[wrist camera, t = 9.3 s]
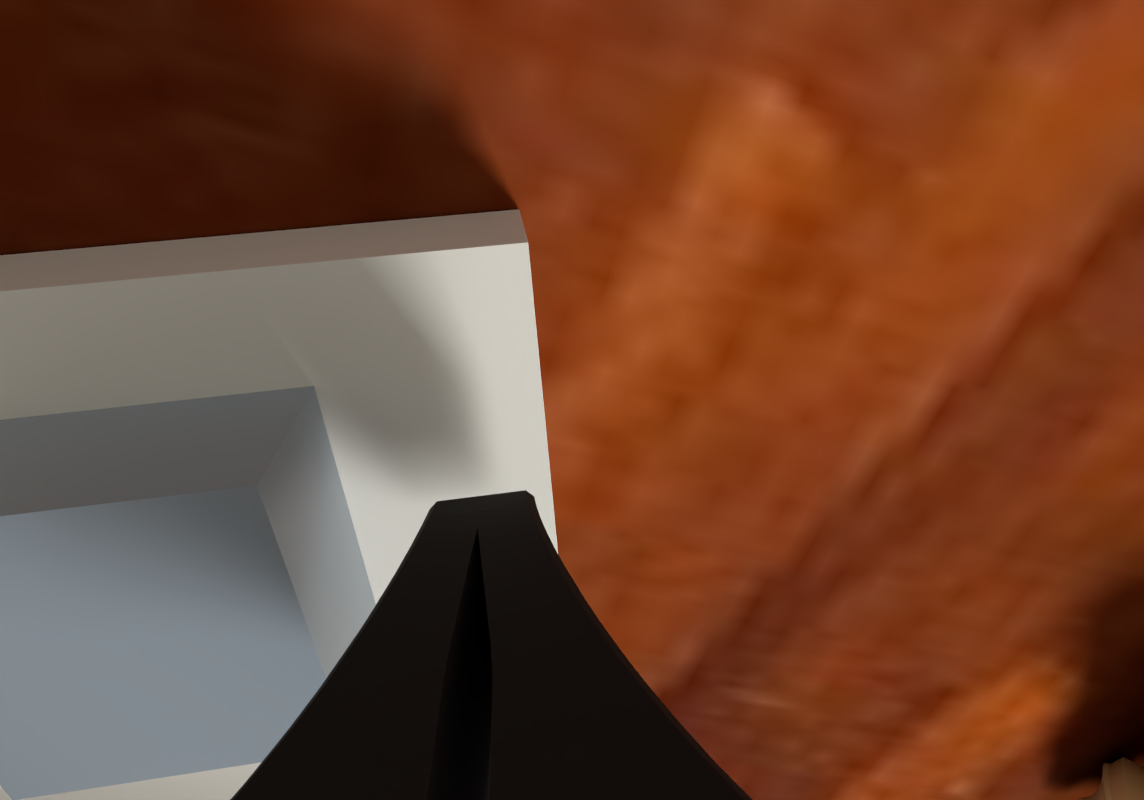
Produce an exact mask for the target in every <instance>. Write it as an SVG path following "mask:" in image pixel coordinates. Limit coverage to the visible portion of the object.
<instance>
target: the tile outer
mask: <svg viewBox="0 0 1144 800" xmlns="http://www.w3.org/2000/svg"><path fill="white" fill-rule="evenodd" d="M375 605H376V603H375V600H374V596H373V592H372V589H371V585H370V582H369V578H368V575H367V571H366V568H365V564H364V561H363V557H362V554H361V550H360V547H359V543H358V540H357V536H356V533H355V529H354V526H353V522H352V518H351V515H350V511H349V508H348V504H347V501H346V497H345V494H344V490H343V487H342V483H341V480H340V476H339V473H338V469H337V466H336V462H335V459H334V455H333V452H332V448H331V444H330V441H329V437H328V434H327V430H326V427H325V423H324V420H323V416H322V413H321V409H320V406H319V402H318V399H317V395H316V392H315V388H314V386H308V387H299V388H290V389H280V390H271V391H262V392H253V393H244V394H234V395H225V396H216V397H207V398H197V399H188V400H179V401H170V402H160V403H151V404H142V405H133V406H123V407H114V408H105V409H96V410H87V411H77V412H68V413H59V414H50V415H40V416H31V417H22V418H13V419H3V420H0V786H1V787H2V788H3V789H4V791H5V792H6V793H7V794H8V795H9V797H10V798H11V799H12V800H20V799H26V798H33V797H39V796H46V795H52V794H59V793H65V792H72V791H78V790H85V789H91V788H98V787H104V786H111V785H117V784H124V783H130V782H137V781H143V780H150V779H156V778H163V777H169V776H176V775H182V774H189V773H195V772H202V771H208V770H215V769H221V768H228V767H234V766H241V765H247V764H254V763H260V762H262V761H263V760H264V759H265V758H266V756H267V755H268V754H269V753H270V752H271V750H272V749H273V748H274V747H275V745H276V744H277V743H278V742H279V740H280V739H281V738H282V737H283V735H284V734H285V733H286V732H287V730H288V729H289V728H290V726H291V725H292V724H293V723H294V721H295V720H296V719H297V717H298V716H299V715H300V713H301V712H302V711H303V709H304V708H305V707H306V705H307V704H308V703H309V702H310V700H311V699H312V698H313V696H314V695H315V694H316V692H317V691H318V689H319V688H320V687H321V685H322V684H323V682H324V681H325V680H326V678H327V677H328V675H329V674H330V672H331V671H332V670H333V668H334V667H335V665H336V664H337V662H338V661H339V659H340V658H341V657H342V655H343V654H344V652H345V651H346V649H347V648H348V646H349V645H350V644H351V642H352V641H353V639H354V638H355V636H356V635H357V634H358V632H359V631H360V629H361V628H362V626H363V625H364V623H365V621H366V620H367V618H368V617H369V615H370V614H371V612H372V610H373V609H374V607H375Z"/></svg>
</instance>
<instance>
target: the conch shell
mask: <svg viewBox="0 0 1144 800" xmlns="http://www.w3.org/2000/svg"><path fill="white" fill-rule="evenodd" d="M1078 800H1144V767H1143V766H1141V765H1139V764H1137V763H1135V762H1132V761H1130V760H1128V759H1126V758H1124V757H1122V758H1120V759H1118V760H1117V761H1115V762H1113V763H1111V764H1110V763H1104V764H1103V771H1102V780H1101V784H1100V786H1099V788H1098V790H1097V791H1096V792H1095V793H1094V794H1093V795H1092V796H1088V797H1084V798H1080V799H1078Z"/></svg>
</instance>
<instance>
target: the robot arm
mask: <svg viewBox="0 0 1144 800" xmlns="http://www.w3.org/2000/svg"><path fill="white" fill-rule="evenodd" d="M230 800H752V799H751V798H750V797H749V796H748V795H747V794H746V793H745V792H744V791H743V790H742V789H741V788H740V787H739V786H738V785H737V784H736V783H735V782H734V781H733V780H732V779H731V778H730V777H729V776H728V775H727V774H726V773H725V772H724V771H723V770H722V769H721V768H720V767H719V766H718V765H717V764H716V763H715V762H714V760H713V759H712V758H711V757H710V756H709V755H708V754H707V753H706V752H705V751H704V749H703V748H702V747H701V746H700V745H699V744H698V743H697V742H696V741H695V739H694V738H693V737H692V736H691V735H690V734H689V733H688V732H687V731H686V729H685V728H684V727H683V726H682V725H681V724H680V723H679V722H678V720H677V719H676V718H675V717H674V716H673V715H672V714H671V712H670V711H669V710H668V709H667V708H666V706H665V705H664V704H663V703H662V702H661V700H660V699H659V698H658V697H657V696H656V694H655V693H654V692H653V691H652V690H651V689H650V687H649V686H648V685H647V684H646V682H645V681H644V680H643V679H642V677H641V676H640V675H639V674H638V672H637V671H636V670H635V669H634V667H633V666H632V665H631V663H630V662H629V661H628V659H627V658H626V657H625V655H624V654H623V653H622V652H621V650H620V649H619V647H618V646H617V645H616V643H615V642H614V641H613V639H612V638H611V636H610V635H609V634H608V632H607V631H606V629H605V628H604V627H603V625H602V624H601V622H600V621H599V620H598V618H597V617H596V615H595V614H594V612H593V611H592V609H591V608H590V606H589V605H588V603H587V602H586V600H585V599H584V597H583V595H582V594H581V592H580V590H579V589H578V587H577V586H576V584H575V582H574V581H573V579H572V577H571V576H570V574H569V573H568V571H567V569H566V568H565V566H564V564H563V562H562V561H561V559H560V557H559V555H558V553H557V552H556V550H555V548H554V546H553V544H552V542H551V540H550V538H549V536H548V534H547V531H546V529H545V527H544V525H543V523H542V520H541V518H540V515H539V512H538V509H537V506H536V502H535V497H534V496H533V495H532V494H530V493H529V492H527V491H526V490H524V491H515V492H507V493H499V494H491V495H483V496H475V497H467V498H459V499H451V500H443V501H437V502H436V503H435V504H434V505H433V506H432V507H431V508H430V510H429V512H428V514H427V516H426V518H425V520H424V522H423V524H422V526H421V528H420V530H419V532H418V533H417V535H416V537H415V539H414V541H413V543H412V545H411V546H410V548H409V550H408V552H407V554H406V555H405V557H404V559H403V561H402V562H401V564H400V566H399V568H398V569H397V571H396V573H395V575H394V576H393V578H392V580H391V581H390V583H389V584H388V586H387V588H386V589H385V591H384V592H383V594H382V596H381V597H380V599H379V601H378V602H377V604H376V605H375V607H374V609H373V610H372V612H371V614H370V615H369V617H368V618H367V620H366V621H365V623H364V625H363V626H362V628H361V629H360V631H359V632H358V634H357V635H356V636H355V638H354V639H353V641H352V642H351V644H350V645H349V646H348V648H347V649H346V651H345V652H344V654H343V655H342V657H341V658H340V659H339V661H338V662H337V664H336V665H335V667H334V668H333V670H332V671H331V672H330V674H329V675H328V677H327V678H326V680H325V681H324V682H323V684H322V685H321V687H320V688H319V689H318V691H317V692H316V694H315V695H314V696H313V698H312V699H311V700H310V702H309V703H308V704H307V705H306V707H305V708H304V709H303V711H302V712H301V713H300V715H299V716H298V717H297V719H296V720H295V721H294V723H293V724H292V725H291V726H290V728H289V729H288V730H287V732H286V733H285V734H284V735H283V737H282V738H281V739H280V740H279V742H278V743H277V744H276V745H275V747H274V748H273V749H272V750H271V752H270V753H269V754H268V755H267V756H266V758H265V759H264V760H263V761H262V763H261V764H260V765H259V766H258V768H257V769H256V770H255V771H254V772H253V774H252V775H251V776H250V777H249V778H248V780H247V781H246V782H245V783H244V784H243V786H242V787H241V788H240V789H239V790H238V791H237V792H236V794H235V795H234V796H233V797H232V798H231V799H230Z"/></svg>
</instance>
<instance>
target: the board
mask: <svg viewBox="0 0 1144 800" xmlns="http://www.w3.org/2000/svg"><path fill="white" fill-rule="evenodd" d="M308 386H314V388H315V392H316V395H317V399H318V402H319V406H320V409H321V413H322V416H323V420H324V423H325V427H326V430H327V434H328V437H329V441H330V444H331V448H332V452H333V455H334V459H335V462H336V466H337V469H338V473H339V476H340V480H341V483H342V487H343V490H344V494H345V497H346V501H347V504H348V508H349V511H350V515H351V518H352V522H353V526H354V529H355V533H356V536H357V540H358V543H359V547H360V550H361V554H362V557H363V561H364V564H365V568H366V571H367V575H368V578H369V582H370V585H371V589H372V592H373V596H374V600H375V603H376V604H377V602H378V601H379V599H380V597H381V596H382V594H383V592H384V591H385V589H386V588H387V586H388V584H389V583H390V581H391V580H392V578H393V576H394V575H395V573H396V571H397V569H398V568H399V566H400V564H401V562H402V561H403V559H404V557H405V555H406V554H407V552H408V550H409V548H410V546H411V545H412V543H413V541H414V539H415V537H416V535H417V533H418V532H419V530H420V528H421V526H422V524H423V522H424V520H425V518H426V516H427V514H428V512H429V510H430V508H431V507H432V506H433V505H434V504H435V503H436V502H437V501H443V500H451V499H459V498H467V497H475V496H483V495H491V494H499V493H507V492H515V491H524V490H526V491H527V492H529V493H530V494H532V495H533V496H534V497H535V502H536V506H537V509H538V512H539V515H540V518H541V520H542V523H543V525H544V527H545V529H546V531H547V534H548V536H549V538H550V540H551V542H552V544H553V546H554V548H555V550H556V552H557V553H558V548H557V537H556V527H555V517H554V506H553V496H552V486H551V475H550V465H549V455H548V444H547V434H546V424H545V413H544V403H543V392H542V382H541V372H540V361H539V351H538V341H537V330H536V320H535V310H534V299H533V289H532V279H531V268H530V258H529V247H528V240H527V237H526V233H525V229H524V225H523V221H522V217H521V214H520V210H519V209H517V210H506V211H495V212H483V213H472V214H461V215H449V216H438V217H427V218H416V219H404V220H393V221H382V222H371V223H359V224H348V225H337V226H326V227H314V228H303V229H292V230H281V231H269V232H258V233H247V234H235V235H224V236H213V237H202V238H190V239H179V240H168V241H157V242H145V243H134V244H123V245H112V246H100V247H89V248H78V249H67V250H55V251H44V252H33V253H21V254H10V255H0V420H3V419H13V418H22V417H31V416H40V415H50V414H59V413H68V412H77V411H87V410H96V409H105V408H114V407H123V406H133V405H142V404H151V403H160V402H170V401H179V400H188V399H197V398H207V397H216V396H225V395H234V394H244V393H253V392H262V391H271V390H280V389H290V388H299V387H308ZM261 763H262V762H260V763H254V764H247V765H241V766H234V767H228V768H221V769H215V770H208V771H202V772H195V773H189V774H182V775H176V776H169V777H163V778H156V779H150V780H143V781H137V782H130V783H124V784H117V785H111V786H104V787H98V788H91V789H85V790H78V791H72V792H65V793H59V794H52V795H46V796H39V797H33V798H26V799H20V800H230V799H231V798H232V797H233V796H234V795H235V794H236V792H237V791H238V790H239V789H240V788H241V787H242V786H243V784H244V783H245V782H246V781H247V780H248V778H249V777H250V776H251V775H252V774H253V772H254V771H255V770H256V769H257V768H258V766H259V765H260V764H261ZM0 800H12V799H11V798H10V797H9V795H8V794H7V793H6V792H5V791H4V789H3V788H2V787H1V786H0Z"/></svg>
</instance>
